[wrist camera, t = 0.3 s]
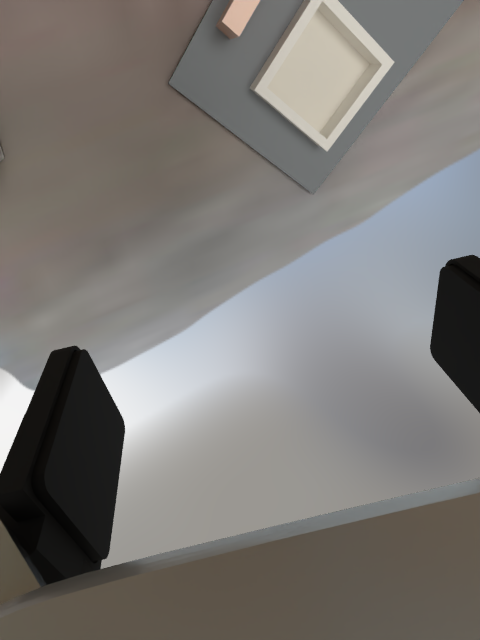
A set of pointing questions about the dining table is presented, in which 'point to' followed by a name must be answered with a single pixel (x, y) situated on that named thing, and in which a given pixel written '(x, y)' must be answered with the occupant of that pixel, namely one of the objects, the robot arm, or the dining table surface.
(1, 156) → the skincare box
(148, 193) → the dining table surface
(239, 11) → the terracotta tag
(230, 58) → the tag board
